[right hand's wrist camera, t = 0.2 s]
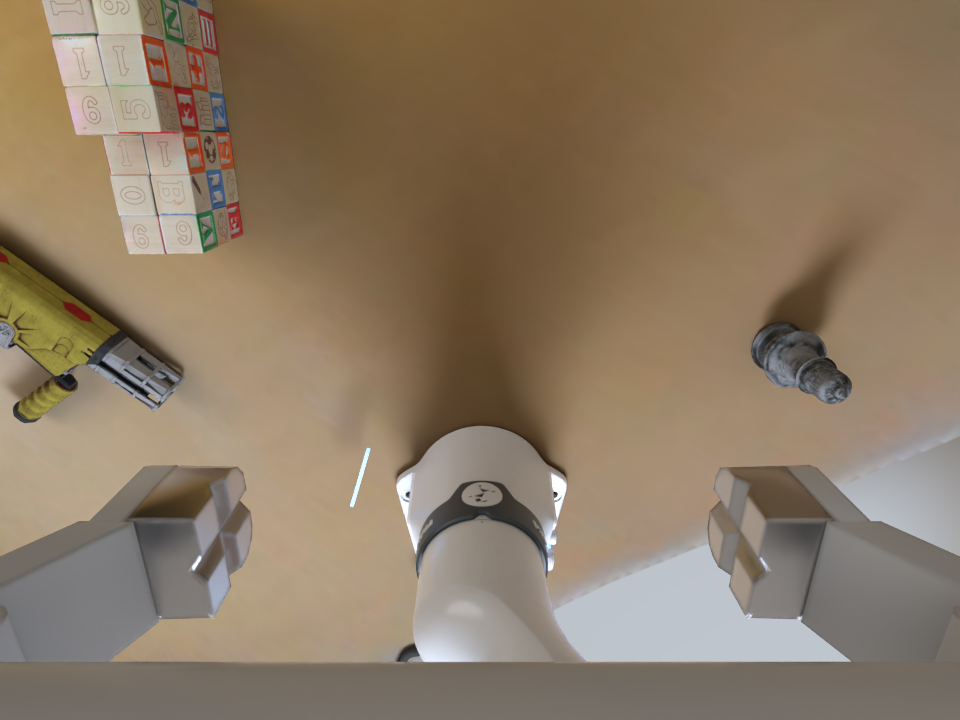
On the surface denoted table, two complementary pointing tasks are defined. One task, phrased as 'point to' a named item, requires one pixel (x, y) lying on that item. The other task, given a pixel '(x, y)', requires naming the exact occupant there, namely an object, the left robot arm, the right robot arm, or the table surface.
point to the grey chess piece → (799, 362)
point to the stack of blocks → (153, 115)
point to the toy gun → (70, 342)
